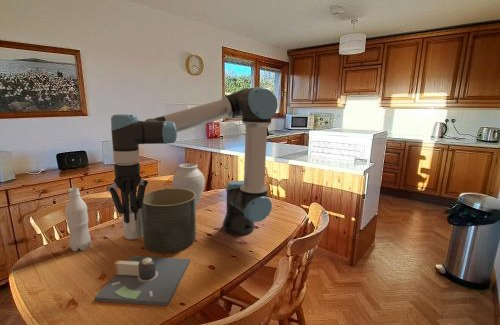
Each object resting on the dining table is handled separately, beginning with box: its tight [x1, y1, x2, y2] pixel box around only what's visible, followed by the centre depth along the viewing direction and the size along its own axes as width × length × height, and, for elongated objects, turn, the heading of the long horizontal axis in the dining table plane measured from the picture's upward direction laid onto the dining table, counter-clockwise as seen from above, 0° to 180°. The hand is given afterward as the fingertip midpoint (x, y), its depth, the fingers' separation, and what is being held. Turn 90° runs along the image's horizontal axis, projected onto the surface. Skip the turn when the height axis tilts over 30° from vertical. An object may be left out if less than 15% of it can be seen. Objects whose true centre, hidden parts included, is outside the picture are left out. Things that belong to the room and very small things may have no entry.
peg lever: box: [113, 258, 156, 280], centre depth 86 cm, size 13×5×6 cm, turn 86°
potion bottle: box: [121, 195, 143, 241], centre depth 113 cm, size 8×8×18 cm
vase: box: [171, 162, 206, 207], centre depth 146 cm, size 18×18×25 cm
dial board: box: [94, 255, 191, 307], centre depth 86 cm, size 22×22×1 cm
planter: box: [141, 187, 197, 254], centre depth 110 cm, size 22×22×20 cm
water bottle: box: [64, 187, 92, 252], centre depth 101 cm, size 7×7×25 cm
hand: (131, 230), depth 88 cm, fingers closed
